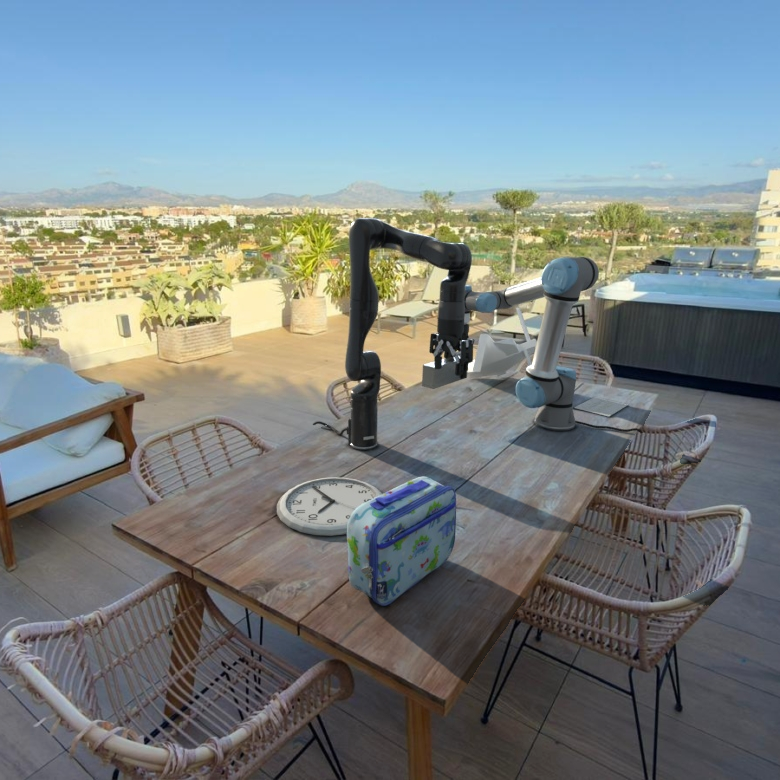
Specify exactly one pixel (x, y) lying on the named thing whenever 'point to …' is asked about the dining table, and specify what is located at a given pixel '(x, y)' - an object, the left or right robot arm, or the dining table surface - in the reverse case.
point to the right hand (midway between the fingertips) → (457, 376)
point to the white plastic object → (500, 353)
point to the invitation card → (601, 406)
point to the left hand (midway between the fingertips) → (448, 372)
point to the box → (440, 374)
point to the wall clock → (324, 504)
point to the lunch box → (400, 538)
